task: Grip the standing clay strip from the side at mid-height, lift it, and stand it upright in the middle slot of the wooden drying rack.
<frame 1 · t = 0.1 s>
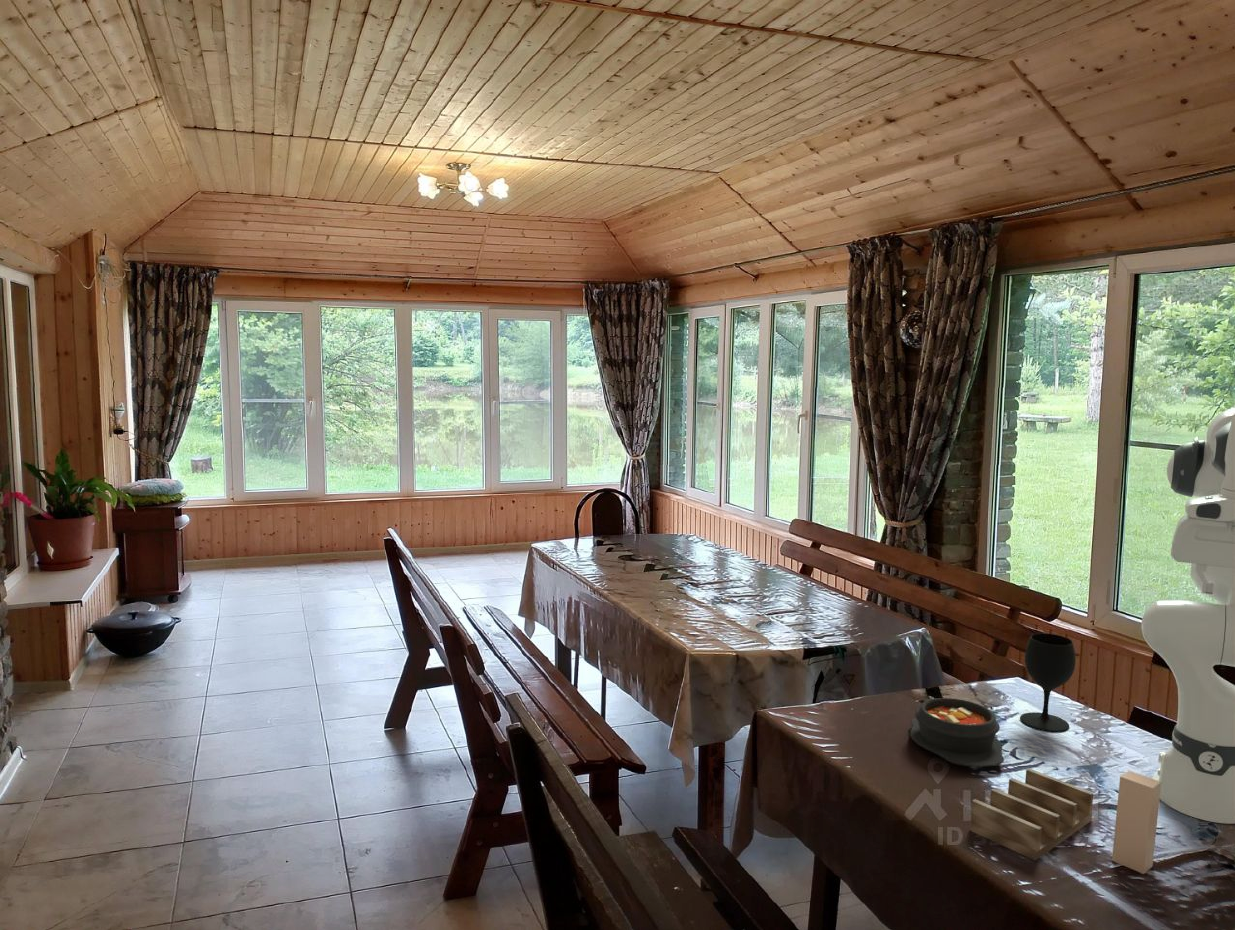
clay strip: (1132, 863, 152), on the table
casserole: (954, 748, 195), on the table
drying rack: (1031, 825, 163), on the table
wine glass: (1044, 723, 208), on the table
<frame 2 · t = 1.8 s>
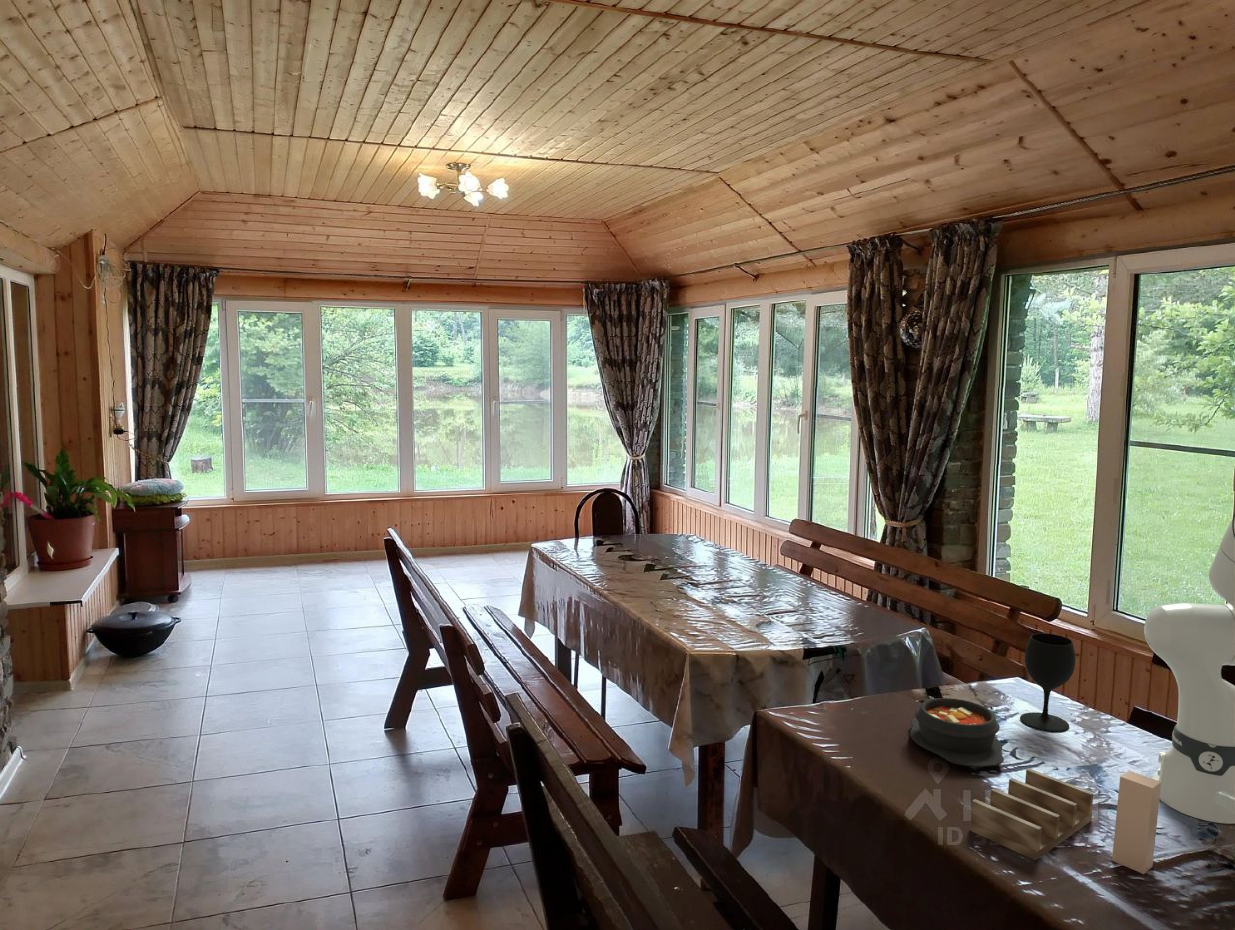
hand: (1227, 787, 140), 19 cm above the table, tool horizontal, fingers open, 8 cm apart
nothing on the table moved.
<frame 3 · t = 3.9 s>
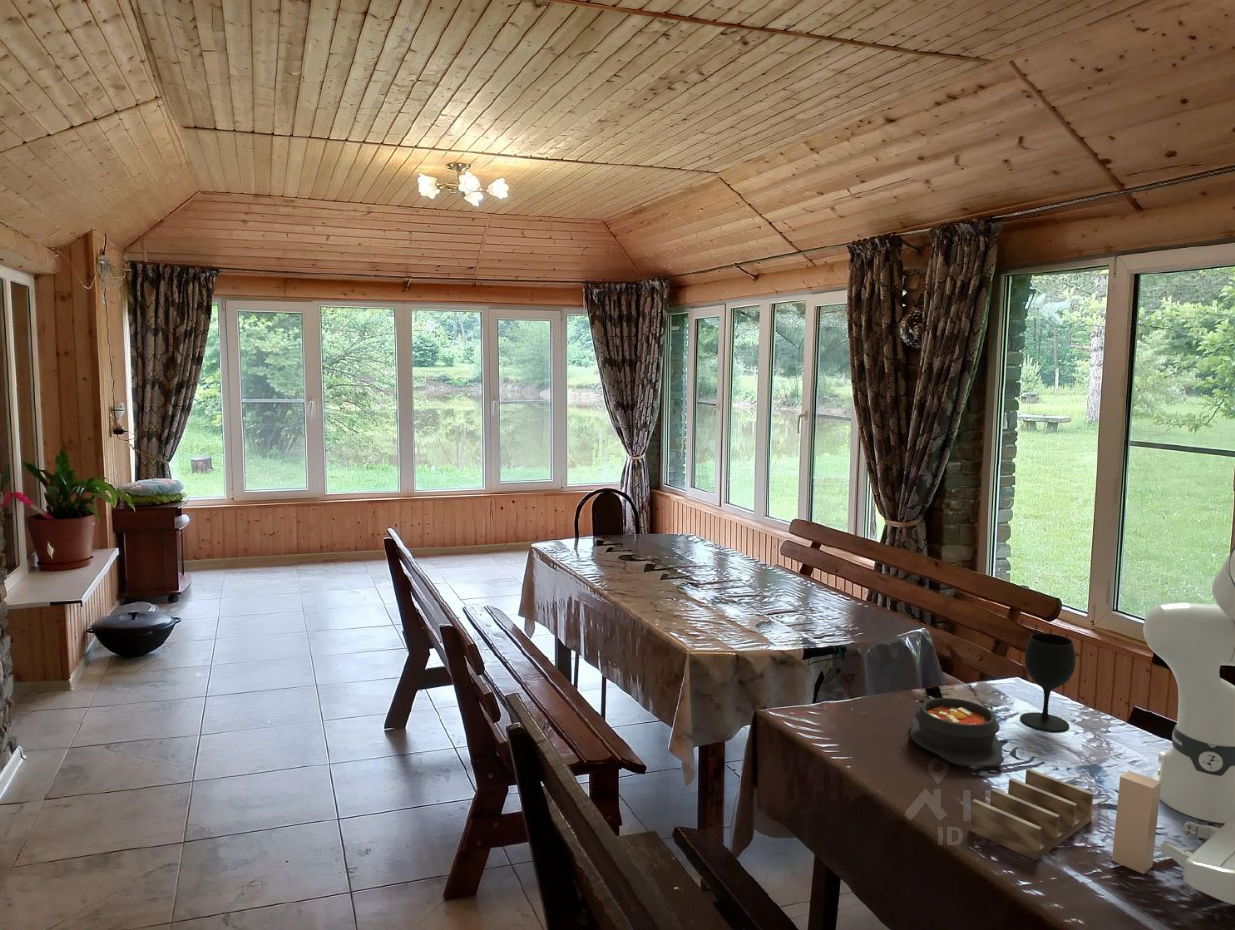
hand: (1173, 836, 147), 7 cm above the table, tool horizontal, fingers open, 8 cm apart
nothing on the table moved.
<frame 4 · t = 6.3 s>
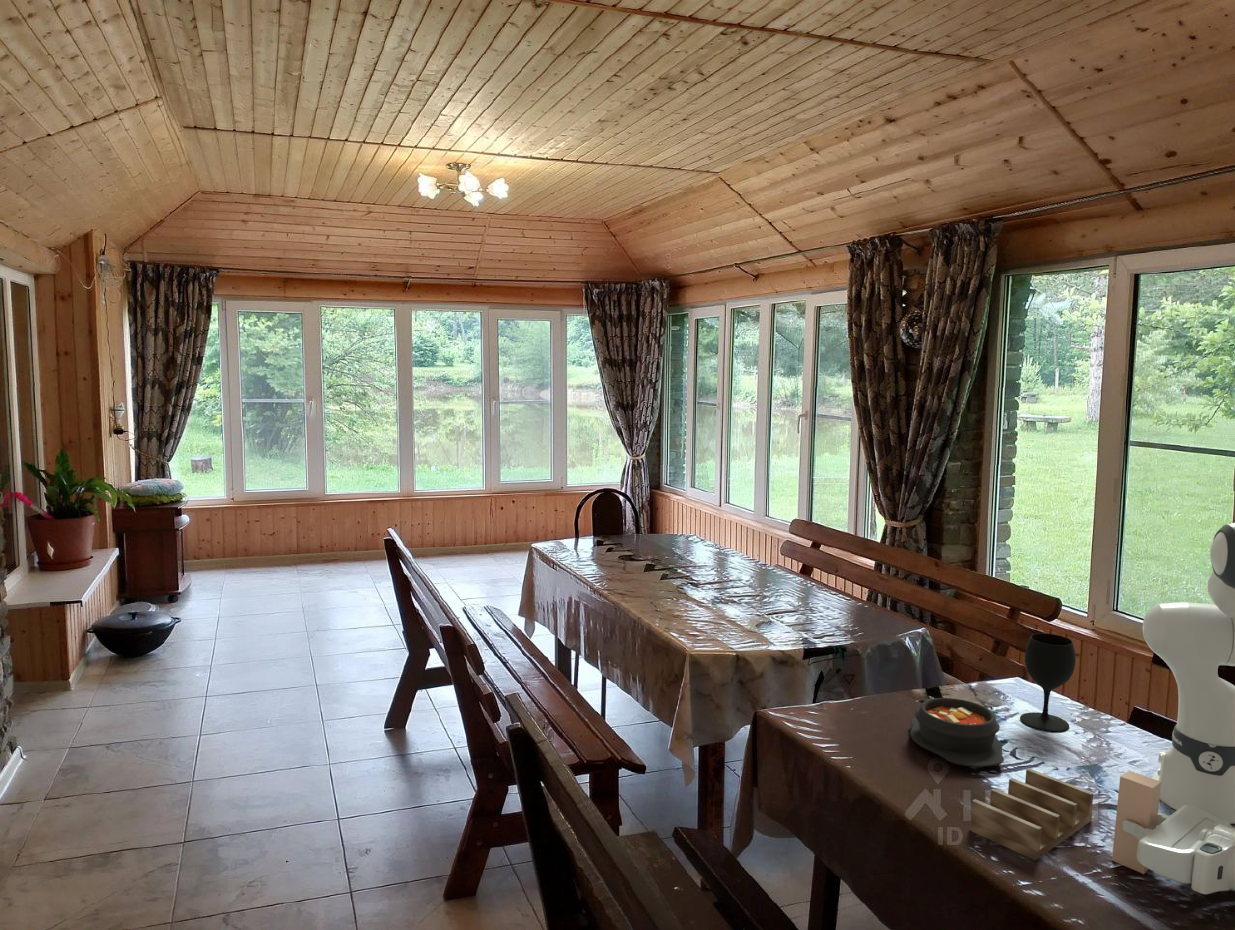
hand: (1130, 819, 151), 8 cm above the table, tool horizontal, fingers closed on clay strip, 3 cm apart
clay strip: (1131, 863, 152), on the table, touching gripper
everything else where it was.
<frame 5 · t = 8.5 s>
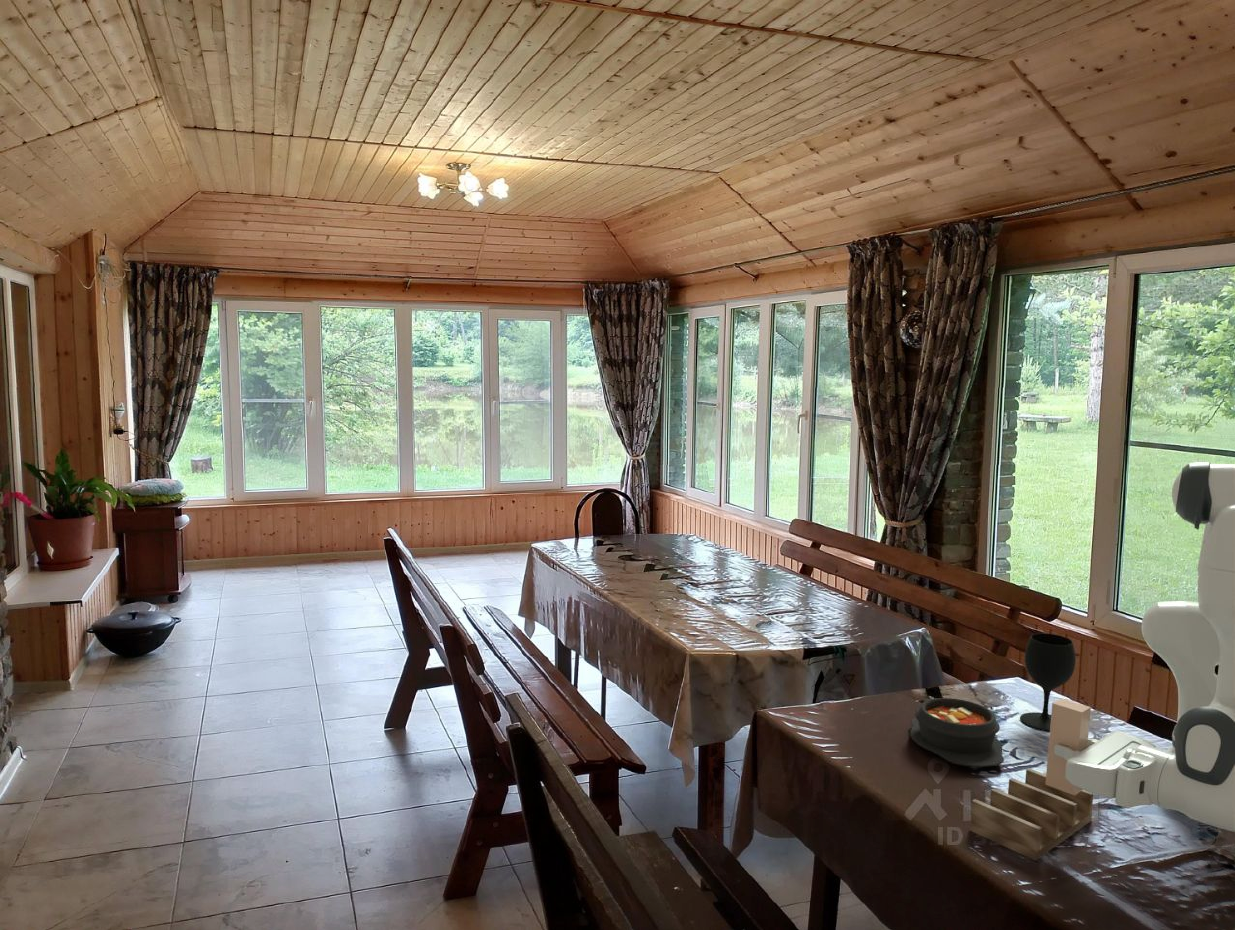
hand: (1062, 744, 158), 17 cm above the table, tool horizontal, fingers closed on clay strip, 3 cm apart
clay strip: (1064, 786, 158), point 9 cm above the table, touching gripper
everything else where it was.
when the fingers open (10 cm above the table, at t = 10.7 s): clay strip drops 1 cm, resting on drying rack.
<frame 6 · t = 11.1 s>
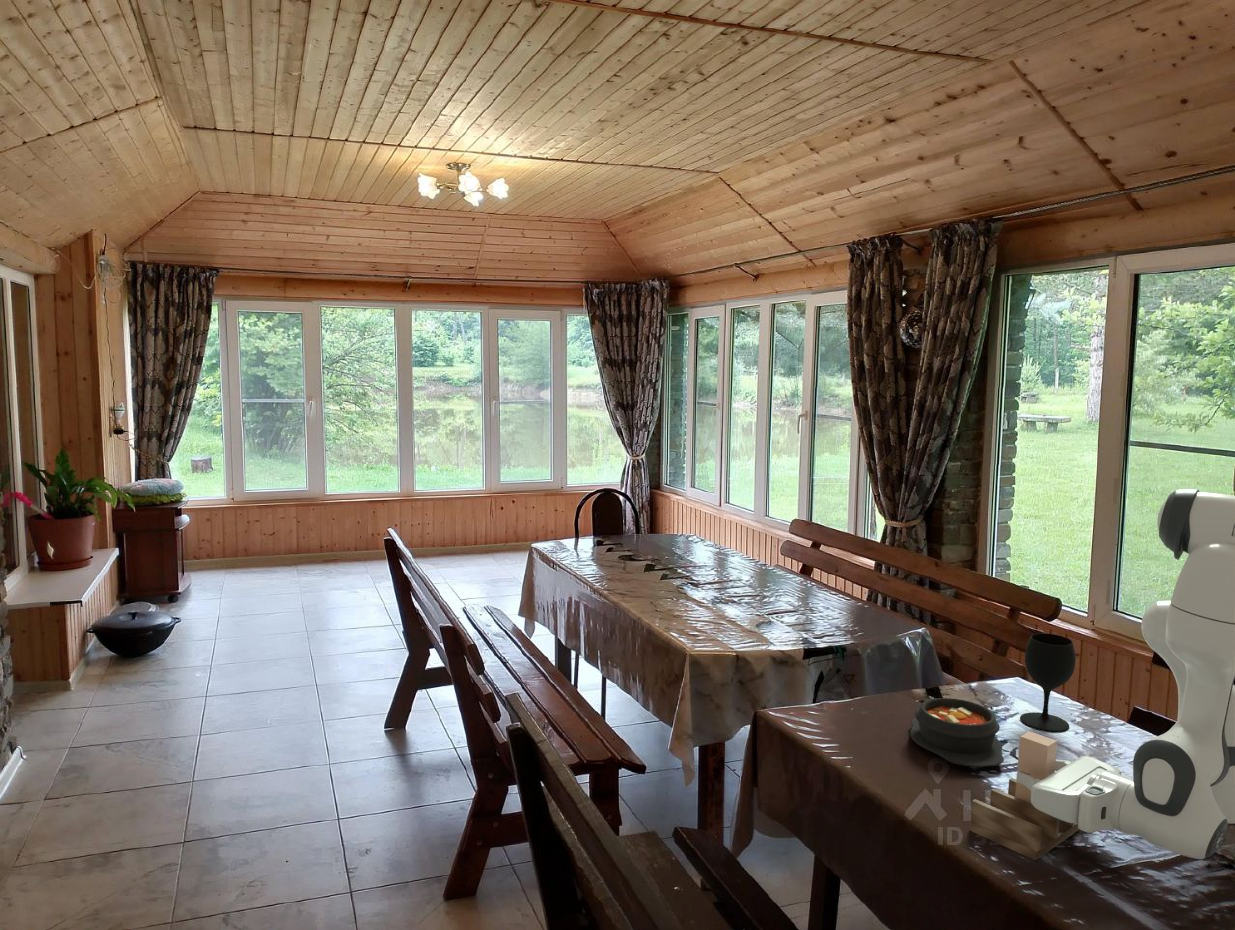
hand: (1030, 768, 163), 10 cm above the table, tool horizontal, fingers open, 8 cm apart
clay strip: (1032, 817, 163), point 1 cm above the table, touching drying rack
everything else where it was.
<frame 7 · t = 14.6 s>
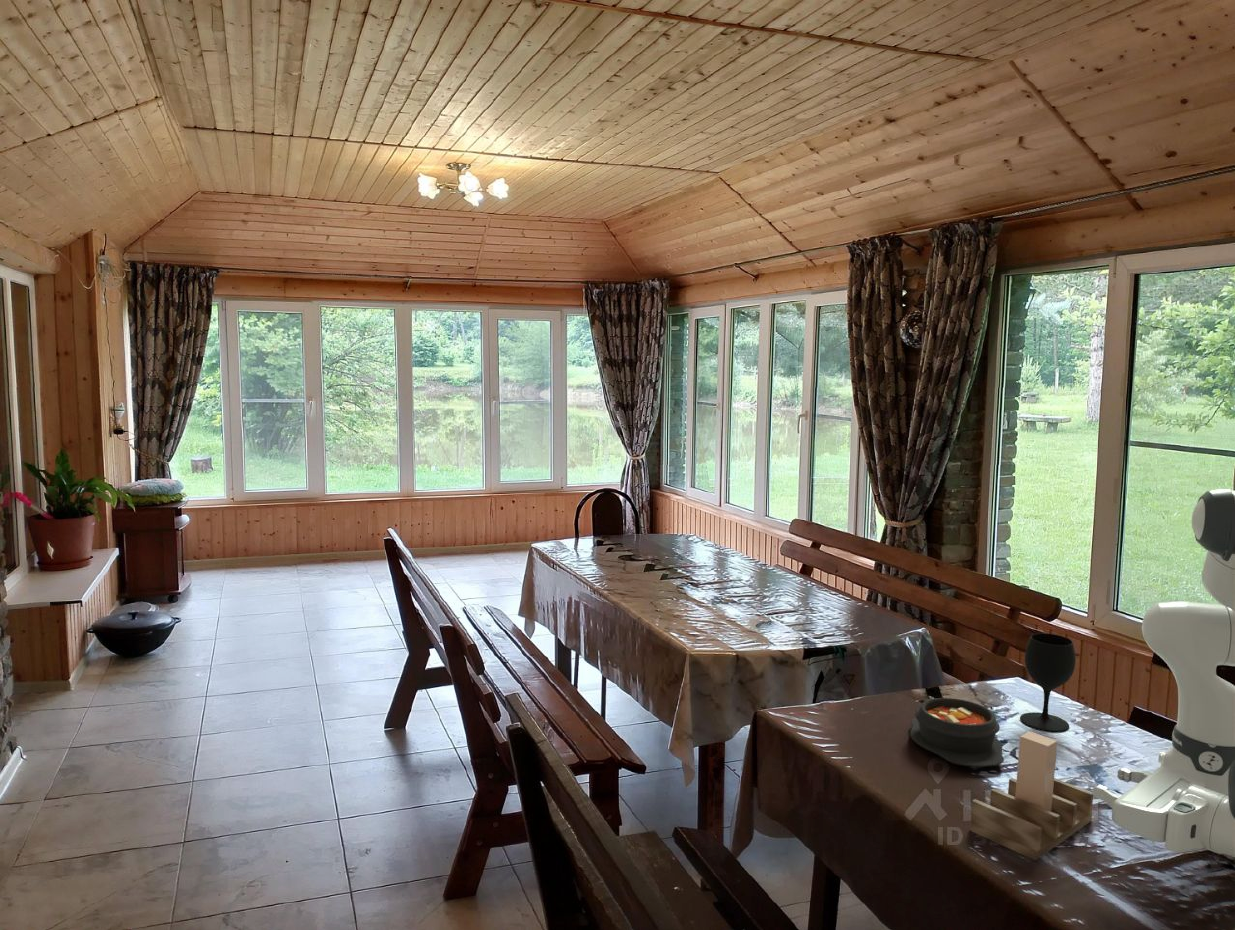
hand: (1107, 780, 153), 13 cm above the table, tool horizontal, fingers open, 8 cm apart
nothing on the table moved.
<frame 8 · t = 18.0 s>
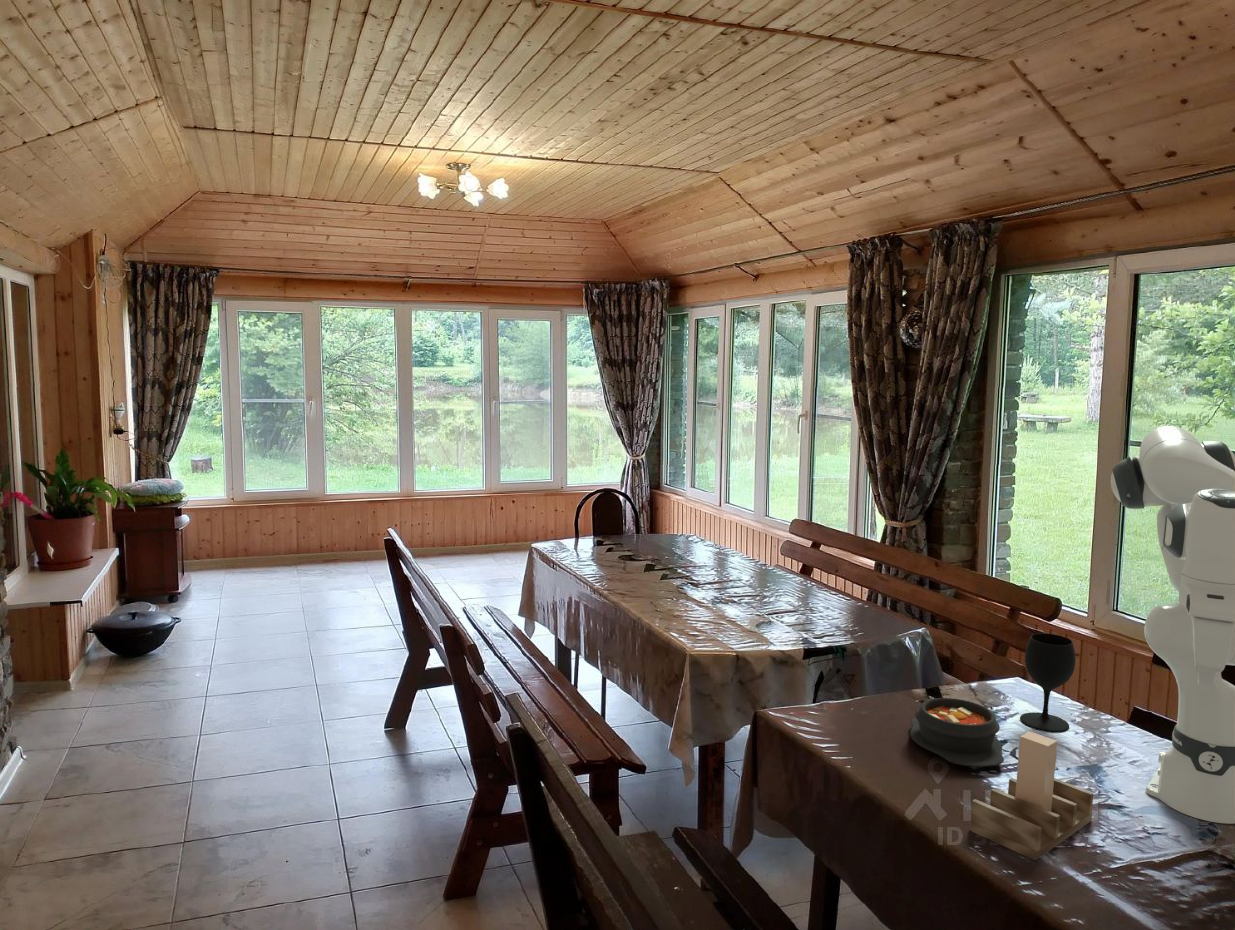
hand: (1203, 680, 142), 34 cm above the table, tool pointing down, fingers open, 8 cm apart
nothing on the table moved.
at the end: clay strip inside the target area on the drying rack (0.0 cm from its centre), point 1.5 cm above the drying rack's base; clay strip tilted 0°; the gripper is holding nothing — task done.
